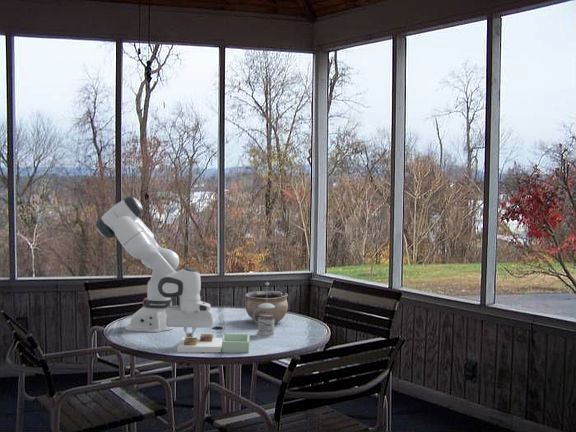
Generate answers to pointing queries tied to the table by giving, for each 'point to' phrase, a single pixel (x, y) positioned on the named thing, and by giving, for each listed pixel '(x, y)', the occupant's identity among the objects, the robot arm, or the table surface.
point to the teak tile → (190, 341)
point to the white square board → (201, 345)
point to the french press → (265, 321)
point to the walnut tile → (206, 337)
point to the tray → (236, 343)
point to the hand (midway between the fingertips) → (189, 337)
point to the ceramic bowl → (267, 297)
